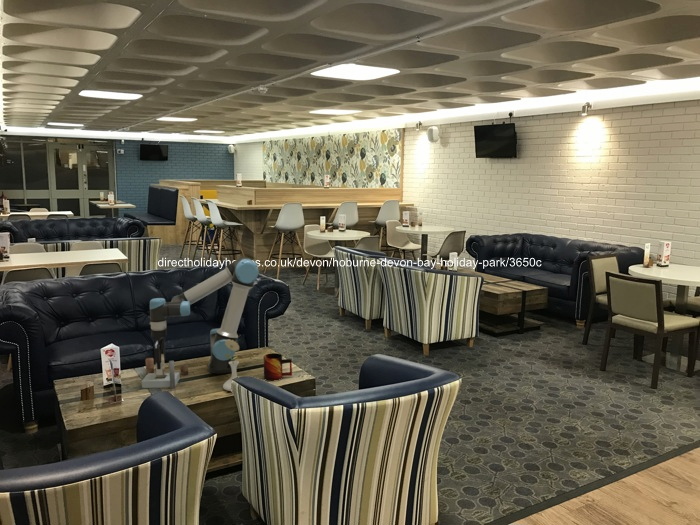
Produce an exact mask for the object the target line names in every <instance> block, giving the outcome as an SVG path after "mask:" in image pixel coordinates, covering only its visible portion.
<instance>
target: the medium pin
mask: <svg viewBox="0 0 700 525" xmlns="http://www.w3.org/2000/svg"><path fill="white" fill-rule="evenodd" d="M154 362H155V358H154V357H147V358H145V373H146V374H145V376H146V375H147V374H148V373H155V365H154V364H155V363H154Z"/></svg>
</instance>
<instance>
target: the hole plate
mask: <svg viewBox="0 0 700 525" xmlns="http://www.w3.org/2000/svg"><path fill="white" fill-rule="evenodd" d="M168 368H169V369H168V370H169V372H165V378H162V379H157V374H156V372H154V373H148V374H147V375H146V374H145V377H144V378H143V379H141V388H142V389H154V388H159V389H160V388H169V389H170V390H175V389H176V386H177V384H178V383H179V380H180V379H181V378H180V376H181V372H175V361H174V360H169V361H168Z"/></svg>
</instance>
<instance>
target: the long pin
mask: <svg viewBox="0 0 700 525" xmlns="http://www.w3.org/2000/svg"><path fill="white" fill-rule="evenodd" d="M161 362H162V373H163V375H157V379H162V378H165V373H166V368H164V364H165V359H164V354H161ZM155 371H156V372H155V373H156V374H157V370H156V369H155Z"/></svg>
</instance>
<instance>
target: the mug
mask: <svg viewBox="0 0 700 525" xmlns="http://www.w3.org/2000/svg"><path fill="white" fill-rule="evenodd" d="M292 360H293V359H292V358H289V359H288V358H286V359H285V358H283V355H282V354H281V353H276V352H275V353H273V352H272V353H271V352H270V353H267V354H264V355H263V379H264V380H265V379H266V380H265V381H267V382H275V381H274V380H278V381H280V380H279V379H281V378H282V379H283V377H284V376H285V377H286V376H289V377H290V376H293V368H292V364H293V361H292ZM287 363H289V372H288V371H287V372H283V364H287ZM282 379H281V380H282Z"/></svg>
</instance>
